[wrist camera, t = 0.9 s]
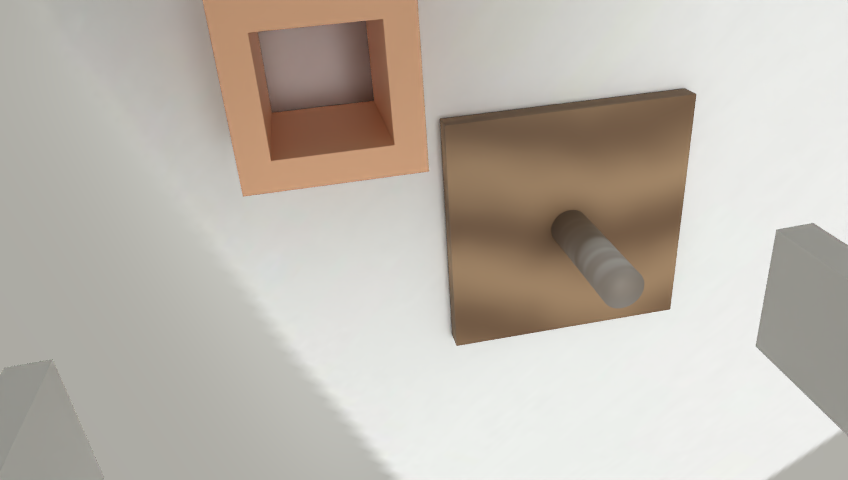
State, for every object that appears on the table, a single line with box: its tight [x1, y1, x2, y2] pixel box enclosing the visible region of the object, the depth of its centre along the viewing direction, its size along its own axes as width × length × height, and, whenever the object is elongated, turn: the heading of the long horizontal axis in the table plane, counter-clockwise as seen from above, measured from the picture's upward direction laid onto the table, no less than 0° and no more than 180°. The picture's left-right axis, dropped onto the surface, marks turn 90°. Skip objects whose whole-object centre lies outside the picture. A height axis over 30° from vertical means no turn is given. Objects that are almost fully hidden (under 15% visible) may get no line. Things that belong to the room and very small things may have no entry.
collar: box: [203, 0, 429, 196], centre depth 31 cm, size 8×8×7 cm
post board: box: [440, 89, 696, 346], centre depth 37 cm, size 14×14×8 cm
